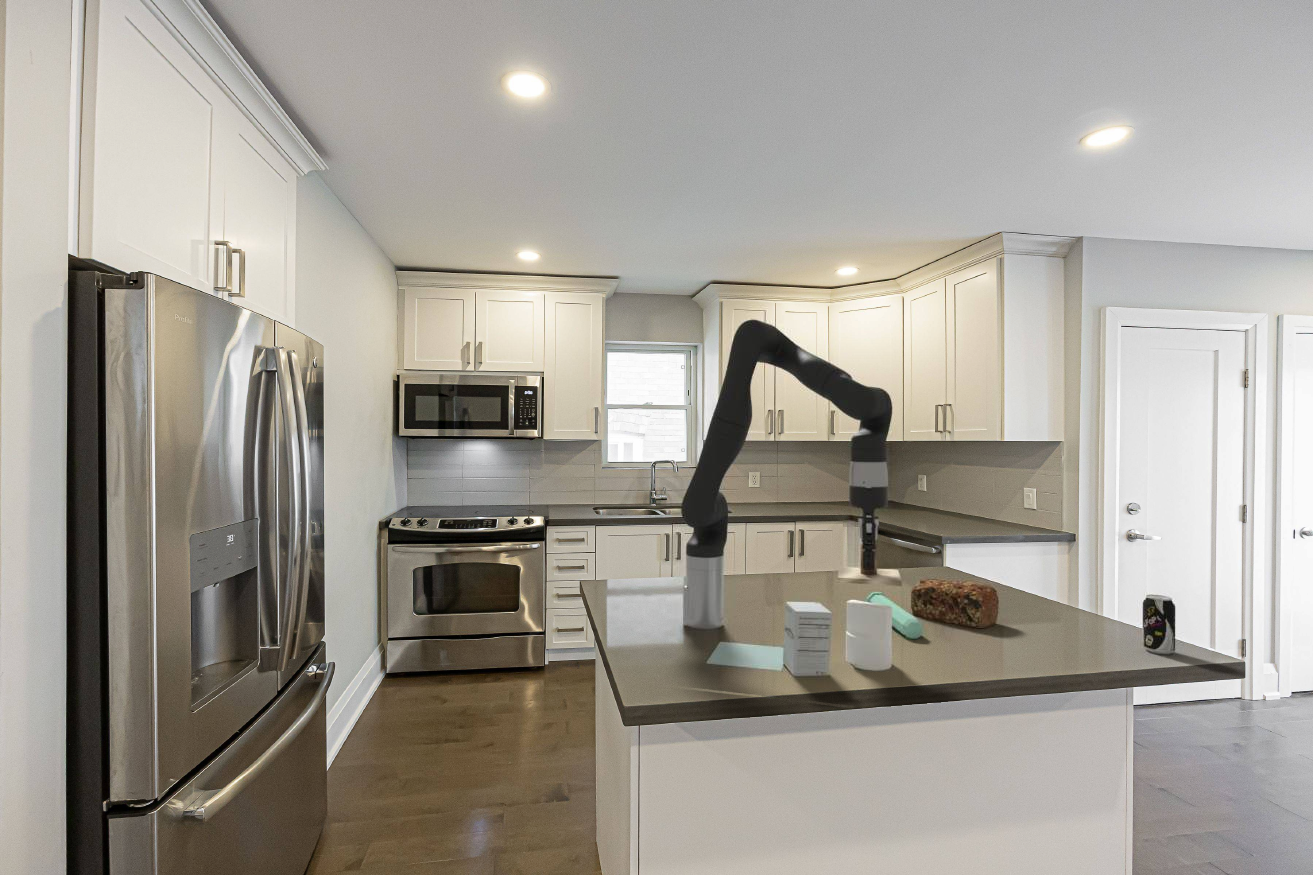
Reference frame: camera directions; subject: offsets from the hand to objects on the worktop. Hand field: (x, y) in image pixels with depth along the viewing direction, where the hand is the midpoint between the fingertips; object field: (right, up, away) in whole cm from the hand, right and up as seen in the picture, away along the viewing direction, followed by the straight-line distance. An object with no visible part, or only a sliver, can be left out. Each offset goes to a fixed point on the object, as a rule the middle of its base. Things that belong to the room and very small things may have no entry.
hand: (868, 567), depth 138 cm
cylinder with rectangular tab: (0, -20, 0) cm, 20 cm away
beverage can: (+66, -20, +9) cm, 70 cm away
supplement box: (-14, -19, -5) cm, 25 cm away
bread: (+33, -20, +35) cm, 52 cm away
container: (+15, -20, +29) cm, 38 cm away
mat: (-24, -19, +3) cm, 31 cm away
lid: (0, -2, 0) cm, 2 cm away
